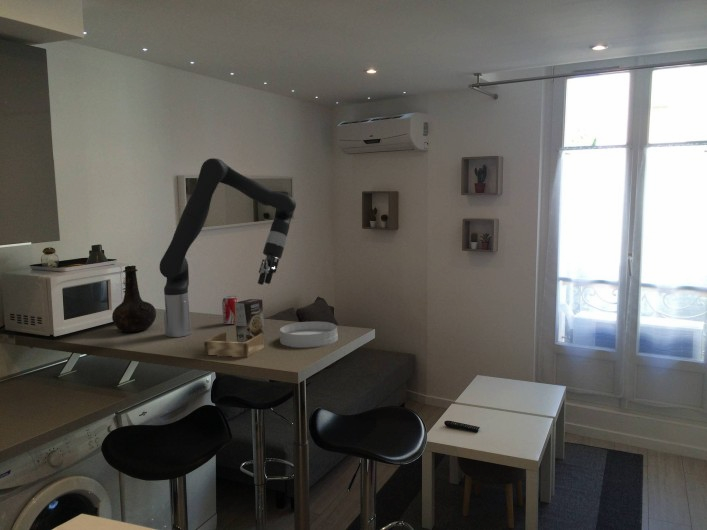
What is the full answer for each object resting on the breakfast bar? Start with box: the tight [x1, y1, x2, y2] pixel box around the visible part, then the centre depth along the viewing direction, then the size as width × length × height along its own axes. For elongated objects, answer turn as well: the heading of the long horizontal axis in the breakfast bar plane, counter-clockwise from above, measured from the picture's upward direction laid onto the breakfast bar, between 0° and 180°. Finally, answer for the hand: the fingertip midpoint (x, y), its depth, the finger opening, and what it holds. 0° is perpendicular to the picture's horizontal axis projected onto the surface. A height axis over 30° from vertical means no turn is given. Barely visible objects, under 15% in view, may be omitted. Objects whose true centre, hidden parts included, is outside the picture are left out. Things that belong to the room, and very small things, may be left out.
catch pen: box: [203, 332, 265, 358], centre depth 200 cm, size 16×13×5 cm
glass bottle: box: [111, 265, 157, 333], centre depth 239 cm, size 18×18×28 cm
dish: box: [279, 321, 339, 348], centre depth 213 cm, size 22×22×5 cm
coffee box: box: [235, 298, 265, 342], centre depth 211 cm, size 9×6×16 cm
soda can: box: [221, 295, 239, 325], centre depth 246 cm, size 7×7×12 cm
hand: (263, 283), depth 218 cm, fingers open, 8 cm apart
